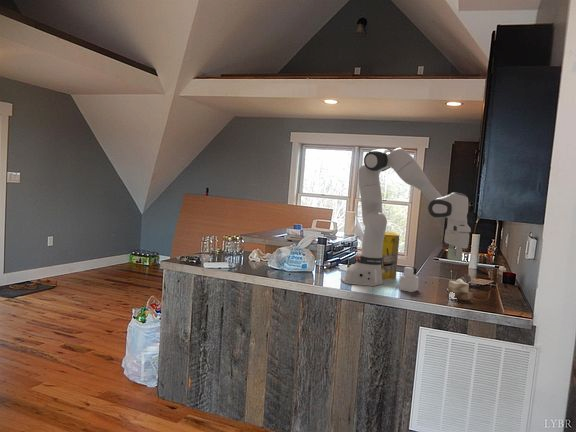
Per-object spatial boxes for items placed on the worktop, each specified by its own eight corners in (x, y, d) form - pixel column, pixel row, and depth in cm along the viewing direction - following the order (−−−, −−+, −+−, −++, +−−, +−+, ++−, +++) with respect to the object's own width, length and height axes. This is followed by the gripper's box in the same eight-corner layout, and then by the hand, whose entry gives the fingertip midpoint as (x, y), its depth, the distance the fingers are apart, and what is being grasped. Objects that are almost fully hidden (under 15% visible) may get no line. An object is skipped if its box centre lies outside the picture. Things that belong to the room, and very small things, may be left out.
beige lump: (453, 299, 228) (453, 291, 228) (447, 296, 235) (448, 288, 235) (467, 300, 229) (468, 292, 228) (461, 296, 236) (461, 289, 235)
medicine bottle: (405, 287, 247) (407, 265, 246) (418, 290, 243) (420, 267, 242) (399, 289, 242) (401, 266, 241) (412, 292, 237) (414, 269, 236)
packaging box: (395, 279, 268) (399, 235, 266) (367, 277, 269) (370, 233, 267) (390, 273, 285) (393, 232, 283) (363, 271, 285) (366, 230, 283)
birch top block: (454, 291, 228) (454, 283, 228) (448, 288, 235) (449, 280, 235) (468, 292, 228) (469, 284, 228) (462, 289, 235) (462, 281, 235)
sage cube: (451, 260, 224) (452, 249, 224) (447, 258, 229) (448, 248, 229) (461, 260, 225) (462, 250, 224) (457, 258, 230) (458, 248, 229)
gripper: (442, 224, 236) (440, 251, 237) (459, 228, 216) (456, 258, 217) (454, 224, 236) (452, 251, 237) (472, 229, 216) (470, 258, 217)
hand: (454, 255), depth 227 cm, fingers closed on sage cube, 5 cm apart
